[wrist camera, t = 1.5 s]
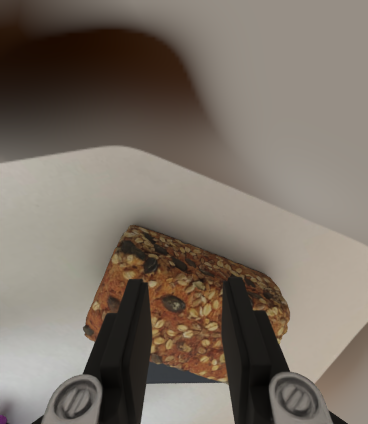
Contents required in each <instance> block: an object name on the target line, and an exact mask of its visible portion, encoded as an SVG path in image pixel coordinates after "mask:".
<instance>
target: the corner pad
mask: <svg viewBox="0 0 368 424" xmlns="http://www.w3.org/2000/svg"><path fill="white" fill-rule="evenodd" d="M155 383H222V382H221V381H216V380H213V379H208V378H205V377H202V376H199V375H197V374H194V373H191V372H189V371H185V372H184V371H181V370H178V369H177V368H175V367H170V366H167V365H165V364H163V363H162V364H156V363H153V362H150V361H149V367H148V374H147V381H146V384H155Z"/></svg>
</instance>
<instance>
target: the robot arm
mask: <svg viewBox="0 0 368 424" xmlns="http://www.w3.org/2000/svg"><path fill="white" fill-rule="evenodd" d="M221 337H222V345H223V351H224V357H225V364H226V370H227V376H228V383H229V389H230V396H231V402H232V408H233V415H234V421H235V424H348V423H346V422H345V421H343V420H342V419H340V418H339V417H337V416H336V415H334V414H333V413H332V412H330V411H329V410H328V409H327V406H326V403H325V401H324V398H323V396H322V394H321V392H320V390H319V389H318V388H317V387H316V386H315V384H314V383H313V382H311V381H310V380H309V379H307V378H306V377H304V376H302V375H300V374H298V373H294V372H290V370H289V368H288V365H287V363H286V360H285V358H284V355H283V353H282V350H281V348H280V345H279V343H278V340H277V338H276V335H275V333H274V330H273V328H272V325H271V323H270V320H269V317H268V315H267V313H266V311H265V310H253V307H252V305H251V302H250V299H249V296H248V293H247V290H246V287H245V284H244V281H243V278H242V277H228V281H223V294H222V325H221ZM151 346H152V323H151V311H150V300H149V289H148V282H143V279H129V280H128V282H127V285H126V288H125V291H124V294H123V297H122V300H121V303H120V306H119V309H118V312H117V313H107V314H106V316H105V318H104V321H103V323H102V326H101V328H100V331H99V333H98V336H97V339H96V341H95V344H94V346H93V349H92V351H91V354H90V357H89V359H88V362H87V364H86V367H85V370H84V372H83V374H82V375H78V376H74V377H72V378H70V379H68V380H66V381H65V382H64V383H62V384H61V385H60V386H59V387H58V388H57V389H56V390H55V392H54V393H53V395H52V397H51V399H50V400H49V403H48V406H47V408H46V411H45V414H44V415H43V416H41V417H40V418H39V419H37V420H36V421H34V422H33V423H32V424H140V423H141V416H142V409H143V402H144V395H145V388H146V381H147V374H148V367H149V360H150V353H151Z"/></svg>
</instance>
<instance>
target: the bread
mask: <svg viewBox="0 0 368 424" xmlns="http://www.w3.org/2000/svg"><path fill="white" fill-rule="evenodd" d="M228 277H242V278H243V281H244V284H245V287H246V290H247V293H248V296H249V299H250V302H251V305H252V307H253V310H265V311H266V313H267V315H268V317H269V320H270V323H271V325H272V328H273V330H274V333H275V335H276V338H277V340H278V343H279V344H280V340H281V339H282V336H283V335H284V334H285V333H286V332H287V329H288V327H287V323H288V322H289V320H290V311H289V307H288V304H287V302H286V301H285V299H284V298H283V297H282V294H281V291H280V289H279V288H278V286H277V285H276V284H275V283H274V282H273V281H272V279H271V278H270V277H268V276H267V275H265V274H263V273H261V272H258V271H255V270H252V269H250V268H247V267H245V266H243V265H241V264H238V263H234V262H232V261H231V260H228V259H226V258H224V257H220V256H218V255H216V254H212V253H210V252H208V251H204V250H202V249H200V248H197V247H194V246H192V245H191V244H184V243H182V242H181V241H180V240H177V239H174V238H171V237H169V236H166V235H164V234H161V233H157V232H155V231H152V230H148V229H144V228H141V227H139V226H136V225H130V226H129V228H128V230H127V231H126V232H125V233H124V234H123V235H122V237H121V239H120V241H119V243H118V245H117V247H116V248H115V250H114V252H113V255H112V257H111V259H110V262H109V264H108V267H107V269H106V272H105V274H104V277H103V279H102V281H101V283H100V286H99V288H98V290H97V292H96V295H95V298H94V301H93V303H92V305H91V307H90V310H89V312H88V315H87V317H86V325H85V326H84V327H83V330H84V332H85V336H86V337H87V338H89V339H90V340H92V341H94V342H95V341H96V339H97V336H98V333H99V331H100V328H101V326H102V323H103V321H104V318H105V316H106V314H107V313H117V312H118V309H119V306H120V303H121V300H122V297H123V294H124V291H125V288H126V285H127V282H128V280H129V279H143V282H148V289H149V300H150V311H151V323H152V346H151V353H150V360H149V361H150V362H153V363H156V364H162V363H163V364H165V365H167V366H170V367H175V368H177V369H178V370H181V371H184V372H185V371H189V372H191V373H194V374H197V375H199V376H202V377H205V378H208V379H213V380H216V381H221V382H222V383H226V384H228V385H229V383H228V376H227V370H226V364H225V357H224V351H223V345H222V337H221V325H222V294H223V281H228Z"/></svg>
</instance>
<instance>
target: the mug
mask: <svg viewBox="0 0 368 424" xmlns="http://www.w3.org/2000/svg"><path fill="white" fill-rule="evenodd" d="M6 422H7V419H6V417H5V416H3V415H0V424H6Z"/></svg>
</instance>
